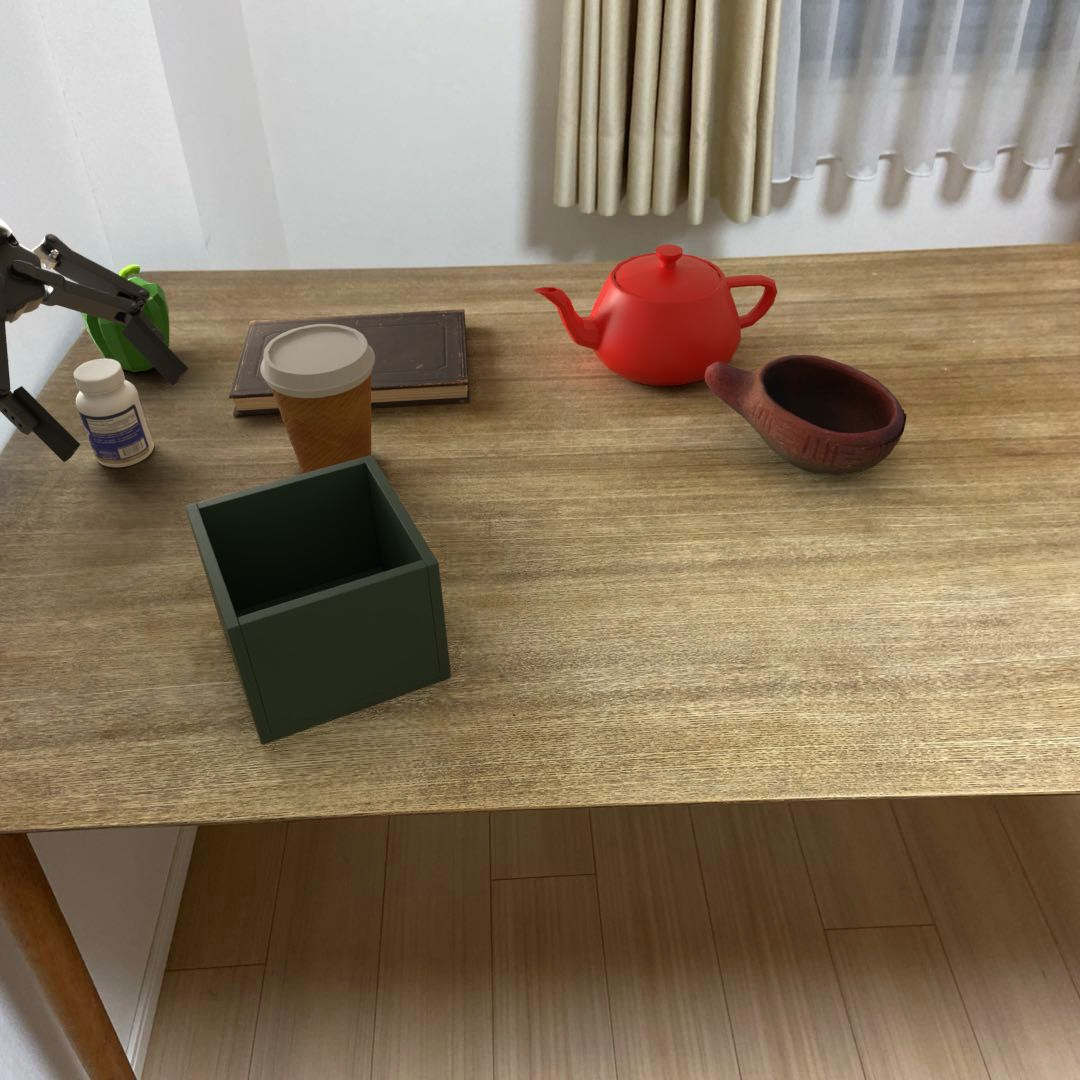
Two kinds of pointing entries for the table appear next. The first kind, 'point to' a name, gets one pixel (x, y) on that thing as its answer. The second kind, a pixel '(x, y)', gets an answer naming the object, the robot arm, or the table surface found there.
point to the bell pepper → (110, 332)
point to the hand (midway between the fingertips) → (129, 413)
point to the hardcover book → (400, 358)
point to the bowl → (814, 411)
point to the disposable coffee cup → (322, 392)
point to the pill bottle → (112, 414)
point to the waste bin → (322, 594)
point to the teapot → (663, 317)
